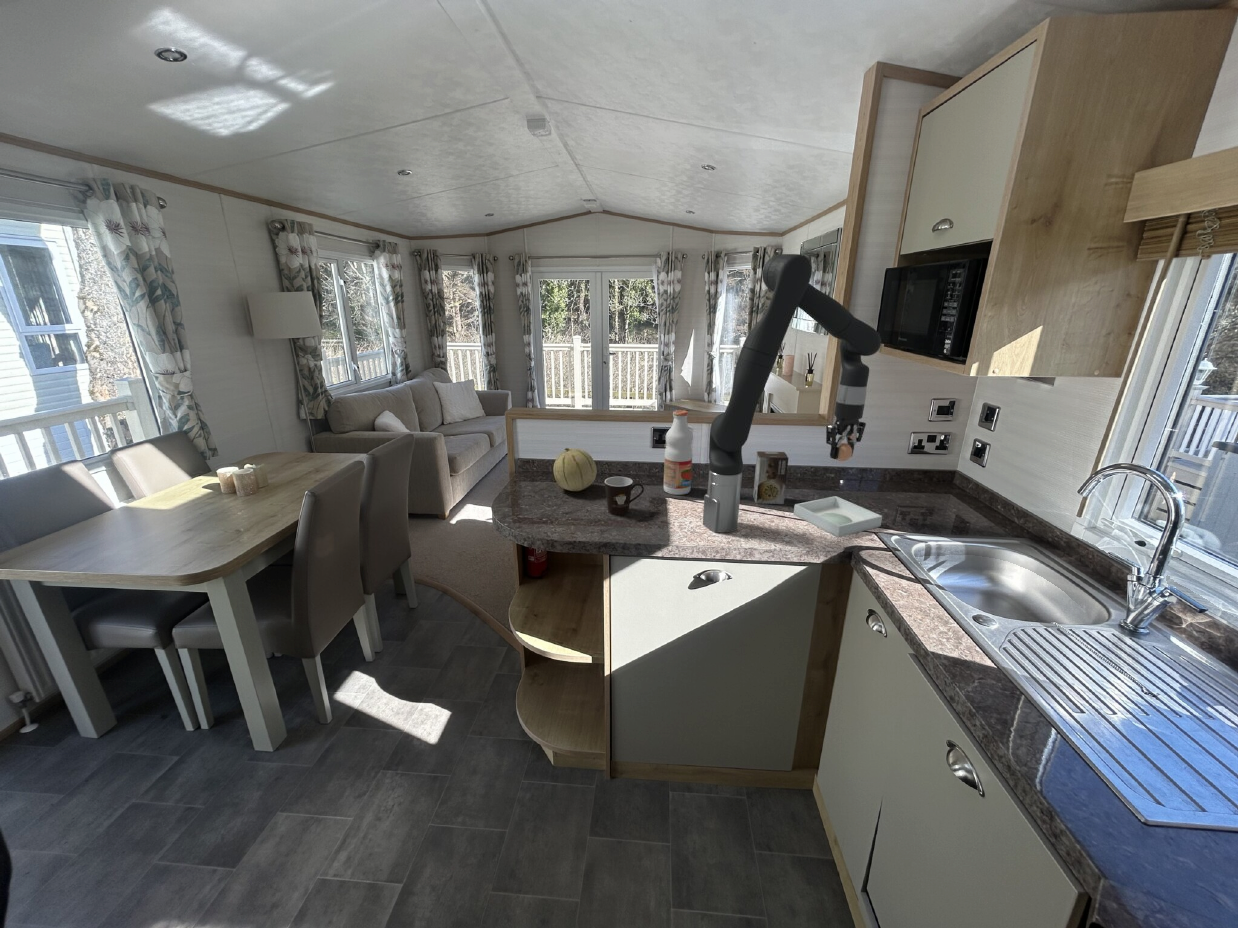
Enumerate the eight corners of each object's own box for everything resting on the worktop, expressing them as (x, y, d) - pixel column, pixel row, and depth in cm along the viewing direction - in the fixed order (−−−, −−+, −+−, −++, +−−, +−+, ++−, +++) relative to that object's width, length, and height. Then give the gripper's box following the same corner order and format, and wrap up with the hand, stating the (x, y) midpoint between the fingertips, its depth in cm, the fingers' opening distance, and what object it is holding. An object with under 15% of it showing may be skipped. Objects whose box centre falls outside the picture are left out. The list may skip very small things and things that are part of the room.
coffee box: (779, 497, 168) (785, 451, 163) (784, 504, 162) (789, 457, 157) (752, 496, 169) (756, 450, 164) (755, 503, 163) (760, 456, 158)
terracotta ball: (841, 464, 145) (844, 446, 143) (826, 459, 149) (829, 441, 147) (854, 462, 147) (857, 444, 145) (839, 457, 152) (842, 439, 150)
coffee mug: (601, 515, 153) (601, 484, 150) (608, 504, 161) (608, 475, 158) (638, 519, 150) (639, 488, 147) (643, 508, 158) (644, 478, 155)
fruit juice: (666, 484, 179) (669, 407, 170) (692, 487, 176) (696, 409, 167) (660, 493, 170) (663, 413, 161) (688, 496, 168) (692, 415, 159)
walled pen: (837, 537, 139) (839, 526, 138) (793, 514, 154) (794, 504, 153) (880, 526, 146) (882, 516, 145) (834, 505, 161) (835, 496, 160)
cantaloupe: (598, 496, 167) (598, 454, 163) (554, 498, 165) (552, 455, 161) (594, 481, 181) (594, 441, 176) (553, 483, 179) (552, 443, 175)
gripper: (843, 405, 136) (834, 463, 141) (879, 401, 142) (868, 458, 148) (822, 400, 143) (813, 456, 148) (856, 397, 149) (847, 451, 154)
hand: (841, 457), depth 148 cm, fingers closed on terracotta ball, 5 cm apart
